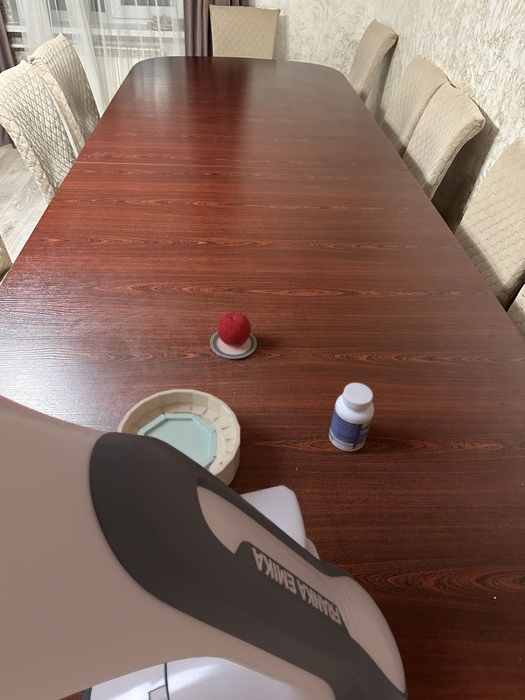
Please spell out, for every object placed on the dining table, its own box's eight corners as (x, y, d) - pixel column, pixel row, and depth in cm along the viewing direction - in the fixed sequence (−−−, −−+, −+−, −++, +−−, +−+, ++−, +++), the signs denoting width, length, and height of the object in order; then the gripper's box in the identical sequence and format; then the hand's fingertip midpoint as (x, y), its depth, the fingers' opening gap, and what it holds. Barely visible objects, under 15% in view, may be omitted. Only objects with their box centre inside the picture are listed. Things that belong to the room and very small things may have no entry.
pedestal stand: (142, 541, 51) (129, 477, 44) (151, 479, 57) (141, 412, 49) (215, 541, 52) (215, 477, 44) (217, 479, 57) (217, 413, 50)
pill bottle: (360, 457, 75) (374, 413, 68) (324, 445, 76) (334, 400, 69) (368, 430, 78) (381, 385, 72) (333, 419, 80) (344, 374, 73)
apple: (202, 352, 89) (201, 322, 84) (222, 325, 94) (222, 296, 90) (245, 366, 87) (246, 336, 83) (263, 337, 93) (265, 308, 88)
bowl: (111, 510, 66) (104, 486, 62) (131, 413, 78) (126, 387, 74) (238, 511, 67) (239, 487, 63) (239, 414, 79) (240, 390, 75)
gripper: (334, 565, 42) (280, 433, 52) (67, 639, 37) (63, 477, 46) (323, 598, 46) (276, 470, 56) (83, 668, 41) (76, 514, 51)
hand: (177, 474), depth 51 cm, fingers closed on pedestal stand, 3 cm apart
